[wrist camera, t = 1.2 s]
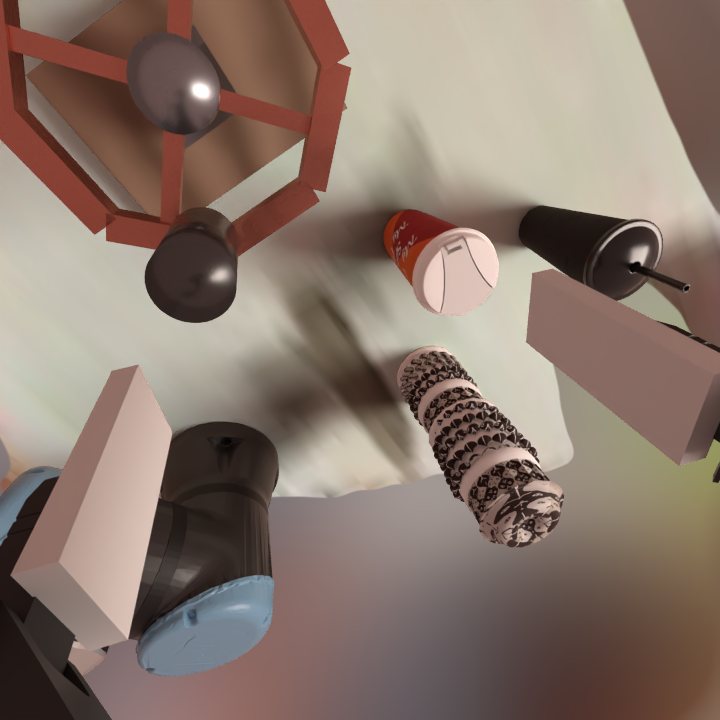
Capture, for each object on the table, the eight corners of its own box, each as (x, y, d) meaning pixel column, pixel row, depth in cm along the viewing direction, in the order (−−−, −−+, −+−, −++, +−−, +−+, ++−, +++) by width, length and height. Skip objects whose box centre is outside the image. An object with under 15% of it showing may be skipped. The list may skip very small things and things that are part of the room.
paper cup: (363, 216, 44) (406, 256, 32) (430, 186, 44) (496, 215, 32) (386, 280, 48) (431, 336, 37) (447, 253, 48) (511, 300, 37)
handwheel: (180, 270, 34) (143, 366, 21) (-44, 22, 24) (-357, -69, 11) (366, 143, 32) (443, 167, 20) (206, -179, 22) (157, -535, 10)
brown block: (168, 229, 40) (149, 261, 32) (37, 77, 33) (-34, 67, 24) (342, 107, 39) (369, 108, 30) (246, -84, 31) (246, -153, 23)
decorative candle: (416, 333, 53) (526, 480, 32) (470, 355, 57) (600, 500, 36) (381, 389, 56) (461, 556, 36) (435, 407, 60) (535, 566, 39)
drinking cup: (573, 236, 51) (732, 299, 34) (518, 270, 52) (647, 348, 35) (558, 178, 47) (731, 218, 30) (499, 217, 48) (635, 277, 31)
